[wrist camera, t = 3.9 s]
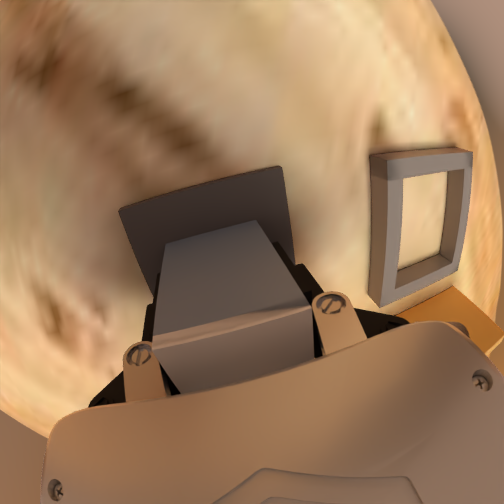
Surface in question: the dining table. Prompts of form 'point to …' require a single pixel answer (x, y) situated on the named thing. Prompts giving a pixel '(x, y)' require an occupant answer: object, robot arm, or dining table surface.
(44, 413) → the dining table surface
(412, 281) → the port
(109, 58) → the dining table surface
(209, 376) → the plug
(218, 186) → the dark grey lipped plate
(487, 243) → the dining table surface
